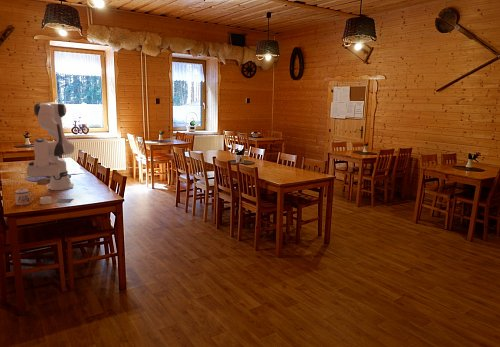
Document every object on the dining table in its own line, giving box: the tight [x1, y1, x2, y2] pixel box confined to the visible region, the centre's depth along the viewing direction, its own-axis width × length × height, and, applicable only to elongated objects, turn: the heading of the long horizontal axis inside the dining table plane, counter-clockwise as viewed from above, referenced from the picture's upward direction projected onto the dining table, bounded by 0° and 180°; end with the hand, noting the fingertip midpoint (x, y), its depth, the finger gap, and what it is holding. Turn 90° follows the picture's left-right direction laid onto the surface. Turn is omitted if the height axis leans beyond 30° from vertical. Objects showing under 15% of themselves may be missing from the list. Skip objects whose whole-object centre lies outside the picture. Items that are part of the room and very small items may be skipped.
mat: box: [55, 198, 74, 204], centre depth 269 cm, size 12×10×1 cm
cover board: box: [36, 177, 51, 186], centre depth 260 cm, size 9×6×3 cm, turn 11°
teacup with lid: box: [13, 186, 35, 206], centre depth 264 cm, size 12×9×12 cm
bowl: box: [39, 195, 53, 205], centre depth 263 cm, size 6×6×5 cm
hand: (44, 182), depth 260 cm, fingers closed on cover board, 6 cm apart
